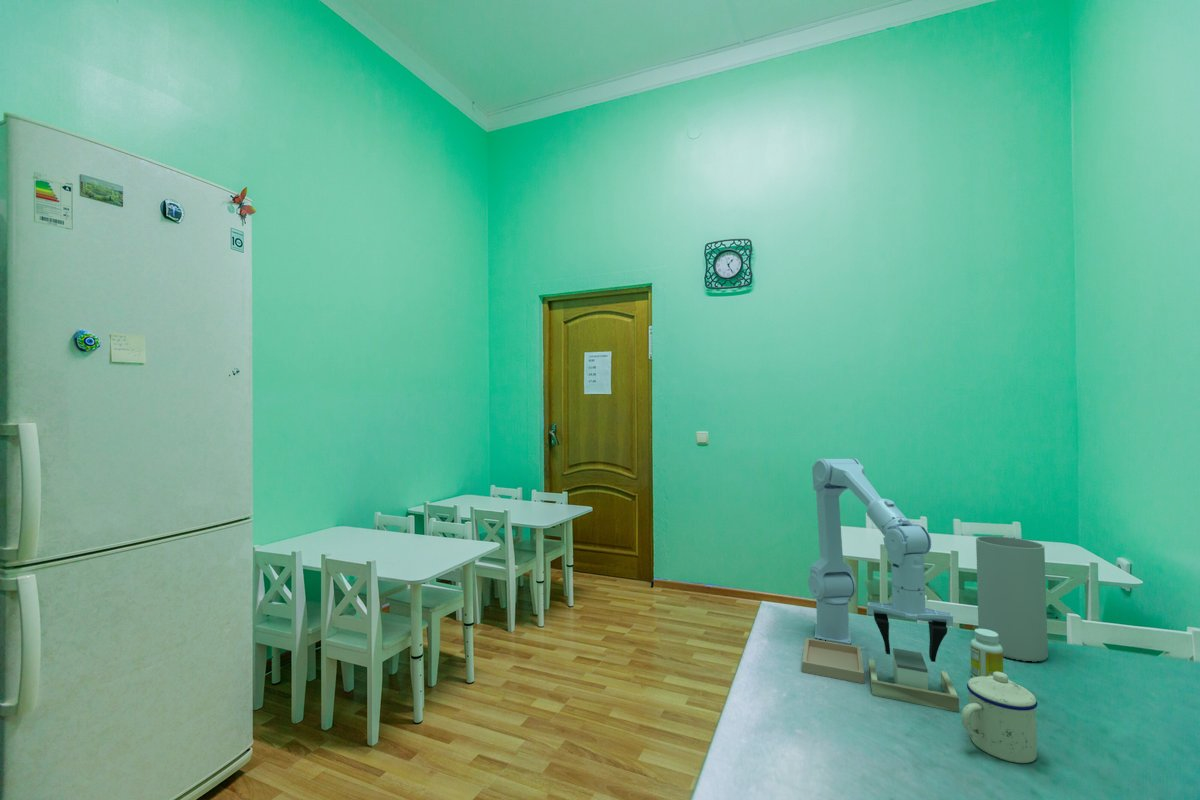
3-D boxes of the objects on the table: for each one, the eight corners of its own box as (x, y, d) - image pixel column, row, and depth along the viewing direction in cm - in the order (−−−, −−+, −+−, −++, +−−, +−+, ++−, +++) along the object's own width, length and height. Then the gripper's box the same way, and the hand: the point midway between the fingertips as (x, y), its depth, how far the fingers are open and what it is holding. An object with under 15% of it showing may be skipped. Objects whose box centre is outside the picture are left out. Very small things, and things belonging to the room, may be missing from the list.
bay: (868, 670, 110) (868, 658, 110) (946, 684, 104) (946, 671, 104) (872, 695, 100) (872, 681, 100) (959, 712, 94) (958, 698, 94)
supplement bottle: (967, 678, 106) (966, 631, 107) (975, 670, 110) (974, 624, 110) (999, 689, 102) (998, 639, 103) (1007, 680, 106) (1005, 633, 106)
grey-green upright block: (893, 677, 107) (892, 648, 107) (921, 682, 105) (921, 652, 105) (897, 696, 99) (897, 664, 100) (928, 702, 97) (927, 669, 98)
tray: (805, 646, 121) (805, 637, 121) (860, 656, 116) (860, 646, 116) (802, 672, 109) (802, 661, 109) (864, 683, 104) (864, 673, 104)
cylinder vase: (1051, 668, 111) (1047, 551, 112) (979, 653, 118) (976, 543, 119) (1044, 648, 121) (1040, 540, 122) (978, 635, 128) (975, 534, 129)
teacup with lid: (998, 727, 89) (996, 658, 90) (1054, 761, 80) (1052, 684, 81) (940, 735, 87) (938, 665, 87) (991, 771, 78) (989, 692, 78)
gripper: (868, 587, 102) (869, 657, 102) (955, 597, 96) (957, 672, 96) (866, 577, 109) (867, 643, 108) (948, 586, 103) (949, 656, 102)
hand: (909, 656), depth 102 cm, fingers open, 7 cm apart
